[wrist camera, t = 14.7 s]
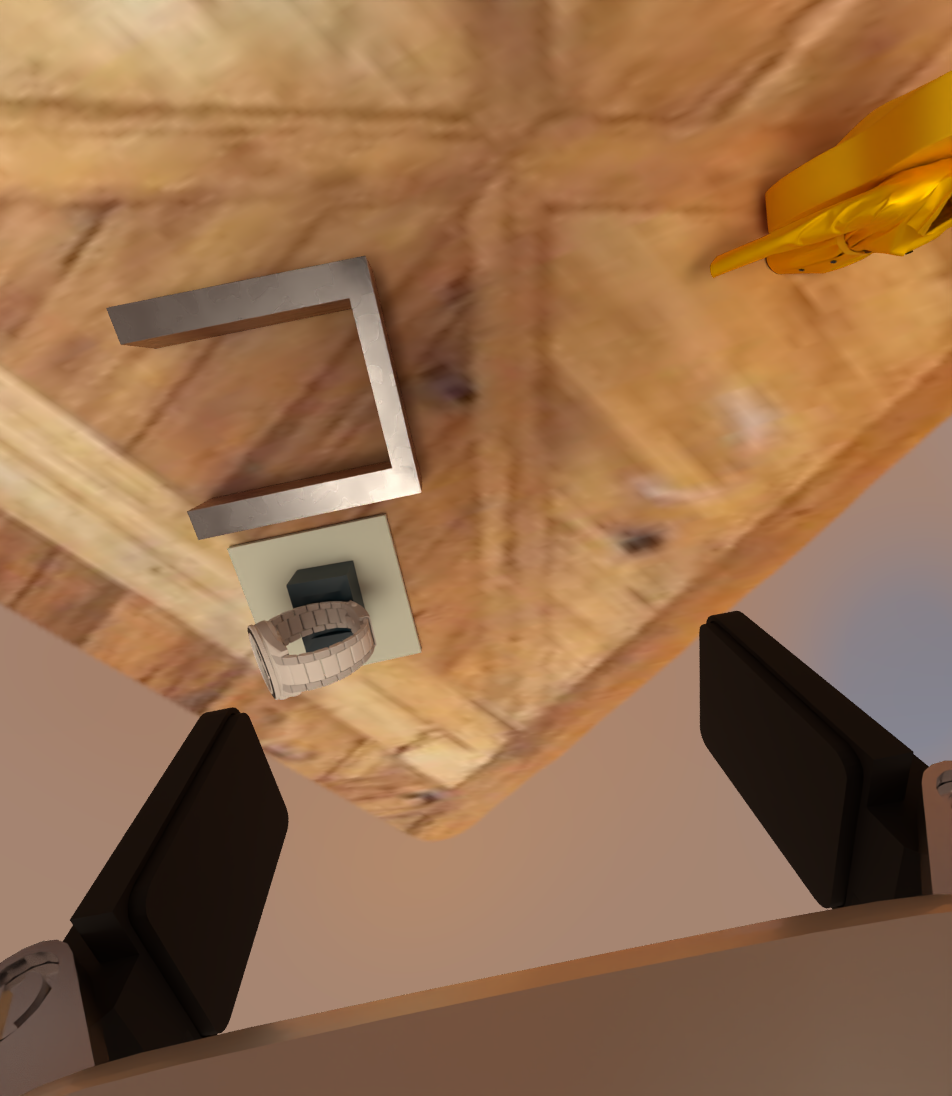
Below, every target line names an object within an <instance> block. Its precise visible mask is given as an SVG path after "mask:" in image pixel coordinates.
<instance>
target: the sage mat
mask: <svg viewBox="0 0 952 1096" xmlns="http://www.w3.org/2000/svg"><path fill="white" fill-rule="evenodd" d="M227 550H228V552H229V555H230V558H231V560H232V563H233V566H234V568H235V571H236V574H237V576H238V579H239V581H240V584H241V587H242V589H243V592H244V595H245V597H246V600H247V602H248V605H249V608H250V610H251V613H252V616H253V618H254V621H255V623H258V622H260V621H263V620H265V621H269V619H271V618H273V617H275V616H277V615H280V614H281V613H283V612H286V611H289V610H293V607H292V603H291V600H290V597H289V593H288V590H287V587H286V585H287V584H288V582H289V581H290V579H291V578H292V576H293V575H294V574H295V572H296V571H297V570H299V569H305V568H311V567H317V566H323V565H328V564H334V563H340V562H346V561H352V560H353V562H354V566H355V570H356V574H357V578H358V582H359V586H360V590H361V594H362V598H363V602H364V606H365V610H366V611H367V612H368V614H369V616H370V619H371V623H372V627H373V631H374V636H375V640H376V644H377V645H376V646H375V648H374V652H373V654H372V656H371V657H370V658H369V659H368V661H367V662H366V663H365V664H363V665H367V664H371V663H376V662H381V661H385V660H390V659H394V658H399V657H403V656H408V655H412V654H417V653H421V645H420V641H419V638H418V634H417V630H416V626H415V623H414V619H413V615H412V611H411V607H410V604H409V600H408V596H407V592H406V588H405V585H404V581H403V577H402V573H401V569H400V566H399V562H398V558H397V554H396V551H395V547H394V543H393V539H392V535H391V532H390V528H389V524H388V520H387V516H386V513H385V514H380V515H375V516H370V517H366V518H361V519H356V520H352V521H347V522H342V523H338V524H333V525H328V526H323V527H319V528H314V529H309V530H305V531H300V532H295V533H291V534H286V535H281V536H277V537H272V538H267V539H262V540H258V541H253V542H248V543H244V544H239V545H234V546H230V547H229V548H228V549H227ZM293 613H294V612H293ZM299 633H300V632H299ZM300 636H301V635H300ZM286 647H287V649H288V652H289V655H299V654H302V653H306V650H305V647H304V644H303V640H302V637H301V638H300V639H298V640H296V641H294V642H292V643H289V645H287V646H286ZM329 650H330V649H329ZM313 654H314V652H313ZM336 657H337V656H336ZM320 661H321V659H320ZM321 664H322V662H321ZM338 664H339V663H338ZM322 667H323V666H322ZM323 671H324V669H323ZM324 674H325V673H324Z"/></svg>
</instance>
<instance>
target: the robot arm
mask: <svg viewBox="0 0 952 1096" xmlns="http://www.w3.org/2000/svg"><path fill="white" fill-rule="evenodd" d="M699 640H700V731H701V736H702V738H703V741H704V743H705V745H706V747H707V748H708V749H709V751H710V752H711V754H712V755H713V757H714V758H715V759H716V761H717V762H718V764H719V765H720V766H721V768H722V769H723V771H724V772H725V774H726V775H727V776H728V778H729V779H730V781H731V782H732V783H733V785H734V786H735V788H736V789H737V790H738V792H739V793H740V794H741V796H742V797H743V799H744V800H745V802H746V803H747V804H748V806H749V807H750V809H751V810H752V811H753V813H754V814H755V816H756V817H757V818H758V820H759V821H760V822H761V824H762V825H763V827H764V828H765V830H766V831H767V832H768V834H769V835H770V837H771V838H772V839H773V841H774V842H775V844H776V845H777V846H778V848H779V849H780V851H781V852H782V853H783V855H784V856H785V858H786V859H787V860H788V862H789V863H790V865H791V866H792V867H793V869H794V870H795V871H796V873H797V874H798V876H799V877H800V879H801V880H802V882H803V883H804V884H805V886H806V887H807V888H808V890H809V891H810V893H811V894H812V896H813V897H814V898H815V899H816V900H817V902H818V903H819V904H820V905H821V906H822V907H824V908H832V910H826V911H821V912H815V913H809V914H804V915H799V916H792V917H787V918H781V919H776V920H770V921H766V922H760V923H755V924H751V925H745V926H741V927H735V928H730V929H725V930H720V931H716V932H710V933H705V934H700V935H695V936H690V937H685V938H680V939H675V940H670V941H665V942H660V943H655V944H650V945H645V946H640V947H635V948H630V949H625V950H620V951H615V952H610V953H605V954H600V955H595V956H590V957H585V958H580V959H576V960H571V961H566V962H561V963H556V964H551V965H547V966H541V967H537V968H532V969H527V970H522V971H517V972H512V973H507V974H502V975H497V976H493V977H488V978H483V979H478V980H473V981H469V982H464V983H459V984H454V985H449V986H444V987H440V988H434V989H430V990H425V991H420V992H415V993H411V994H406V995H401V996H396V997H392V998H387V999H382V1000H377V1001H373V1002H368V1003H364V1004H358V1005H354V1006H349V1007H344V1008H340V1009H335V1010H330V1011H326V1012H321V1013H316V1014H311V1015H307V1016H302V1017H298V1018H293V1019H288V1020H283V1021H278V1022H274V1023H269V1024H264V1025H260V1026H255V1027H250V1028H246V1029H242V1030H237V1031H233V1032H228V1033H224V1034H220V1035H217V1034H218V1033H222V1032H223V1031H224V1030H225V1028H226V1027H227V1025H228V1023H229V1020H230V1018H231V1014H232V1011H233V1007H234V1004H235V1001H236V998H237V994H238V991H239V988H240V985H241V981H242V978H243V975H244V971H245V968H246V965H247V961H248V958H249V955H250V952H251V948H252V945H253V941H254V938H255V935H256V931H257V928H258V925H259V922H260V918H261V915H262V912H263V909H264V905H265V902H266V899H267V895H268V892H269V889H270V885H271V882H272V879H273V875H274V872H275V869H276V865H277V862H278V859H279V856H280V852H281V849H282V846H283V843H284V839H285V835H286V832H287V829H288V812H287V808H286V806H285V804H284V801H283V798H282V796H281V794H280V791H279V789H278V786H277V784H276V781H275V779H274V776H273V774H272V772H271V769H270V767H269V764H268V762H267V759H266V757H265V754H264V752H263V749H262V747H261V744H260V742H259V740H258V737H257V735H256V732H255V730H254V727H253V725H252V722H251V720H250V718H249V716H248V715H247V714H246V713H240V712H239V710H238V709H236V708H233V707H232V708H227V709H222V710H217V711H212V712H206V713H204V714H203V715H202V716H201V717H200V718H199V720H198V721H197V723H196V724H195V726H194V727H193V729H192V731H191V732H190V734H189V735H188V737H187V738H186V740H185V742H184V743H183V745H182V746H181V748H180V749H179V751H178V752H177V754H176V756H175V757H174V759H173V760H172V762H171V763H170V765H169V766H168V768H167V769H166V771H165V773H164V774H163V776H162V777H161V779H160V780H159V782H158V784H157V785H156V787H155V788H154V790H153V791H152V793H151V794H150V796H149V797H148V799H147V801H146V802H145V804H144V805H143V807H142V808H141V810H140V812H139V813H138V815H137V816H136V818H135V819H134V821H133V823H132V824H131V826H130V827H129V829H128V830H127V832H126V833H125V835H124V836H123V838H122V840H121V841H120V843H119V844H118V846H117V847H116V849H115V850H114V852H113V854H112V855H111V857H110V858H109V860H108V861H107V863H106V865H105V866H104V868H103V869H102V871H101V872H100V874H99V876H98V877H97V879H96V880H95V882H94V883H93V885H92V886H91V888H90V890H89V891H88V893H87V894H86V896H85V897H84V899H83V900H82V902H81V904H80V905H79V907H78V908H77V910H76V911H75V913H74V915H73V916H72V918H71V919H70V921H71V922H72V924H73V926H72V928H71V929H70V931H69V933H68V934H67V936H66V937H65V939H64V940H63V942H62V941H59V940H50V941H42V942H39V943H37V944H34V945H31V946H29V947H26V948H24V949H22V950H21V951H19V952H17V953H15V954H14V955H12V956H10V957H9V958H7V959H5V960H4V961H3V962H1V963H0V1096H952V761H943V762H939V763H936V764H932V765H931V766H930V767H929V766H927V765H926V764H925V763H924V762H922V761H921V760H920V759H919V758H918V757H916V756H915V755H914V754H913V751H911V749H909V748H908V747H907V746H906V745H904V744H903V743H902V742H901V741H899V740H898V739H897V738H896V737H895V736H893V735H892V734H891V733H890V732H888V731H887V730H886V729H884V728H883V727H882V726H881V725H880V724H878V723H877V722H876V721H875V720H874V719H872V718H871V717H870V716H869V715H867V714H866V713H865V712H864V711H862V710H861V709H860V708H859V707H857V706H856V705H855V704H854V703H853V702H851V701H850V700H849V699H848V698H846V697H845V696H844V695H843V694H842V693H840V692H839V691H838V690H837V689H835V688H834V687H833V686H832V685H830V684H829V683H828V682H826V680H824V679H823V678H822V677H821V676H819V675H818V674H817V673H816V672H815V671H813V670H812V669H811V668H809V667H808V666H807V665H806V664H805V663H803V662H802V661H801V660H800V659H798V658H797V657H796V656H795V655H793V654H792V653H791V652H790V651H789V650H787V649H786V648H785V647H784V646H782V645H781V644H780V643H779V642H778V641H776V640H775V639H774V638H773V637H771V636H770V635H769V634H768V633H766V632H765V631H764V630H763V629H762V628H760V627H759V626H758V625H757V624H755V623H754V622H753V621H752V620H750V619H749V618H748V617H747V616H745V615H744V614H743V613H741V612H740V611H733V612H728V613H722V614H717V615H712V616H710V617H708V619H707V622H706V624H703V625H701V627H700V632H699Z"/></svg>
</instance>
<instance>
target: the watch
mask: <svg viewBox="0 0 952 1096" xmlns="http://www.w3.org/2000/svg"><path fill="white" fill-rule="evenodd" d="M286 587H287V590H288V593H289V597H290V600H291V603H292V607H293V610H289V611H286V612H283V613H281V614H280V615H277V616H275V617H273V618H271V619H269V621H265V620H263V621H260V622H258V623H256V624H255V625H254V626H253V625H249V626H248V634H249V639H250V643H251V647H252V650H253V653H254V656H255V659H256V661H257V664H258V667H259V669H260V672H261V674H262V676H263V679H264V681H265V683H266V685H267V687H268V689H269V691H270V692H271V694H272V696H273V697H274V698H275V699H276V700H278V699H281V700H283V699H287V698H288V697H293V696H297V695H299V694H301V692H303V691H307V689H308V691H309V690H314V689H317V688H321V687H322V686H327V685H330V684H332V683H335V682H337V681H338V680H341V679H343V678H345V677H347V676H349V675H350V674H352V672H355V671H356V670H357V669H359V668H360V667H361V666H362V665H363V664H365V663H366V662H367V661H368V659H369V658H370V657H371V656H372V654H373V652H374V648H375V646H376V645H377V644H376V640H375V636H374V631H373V627H372V623H371V619H370V616H369V614H368V612H367V611H366V610H365V606H364V602H363V598H362V594H361V590H360V586H359V582H358V578H357V574H356V570H355V566H354V562H353V560H352V561H346V562H340V563H334V564H328V565H323V566H317V567H311V568H305V569H299V570H297V571H296V572H295V574H294V575H293V576H292V578H291V579H290V581H289V582H288V584H287V585H286ZM293 612H294V613H293ZM299 632H300V633H299ZM300 635H301V636H300ZM301 637H302V640H303V644H304V647H305V650H306V653H302V654H299V655H289V652H288V649H287V647H286V646H287V645H289V643H292V642H294V641H296V640H298V639H300V638H301ZM329 649H330V650H329ZM313 652H314V654H313ZM336 656H337V657H336ZM320 659H321V661H320ZM321 662H322V664H321ZM338 663H339V664H338ZM322 666H323V667H322ZM323 669H324V671H323ZM324 673H325V674H324ZM336 674H337V675H336ZM337 678H338V679H337ZM321 680H322V681H321ZM322 684H323V685H322Z"/></svg>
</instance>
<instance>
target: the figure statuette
mask: <svg viewBox="0 0 952 1096" xmlns="http://www.w3.org/2000/svg"><path fill="white" fill-rule="evenodd" d="M765 199H766V211H767V223H768V232H769V234H768V235H766V236H764V237H762V238H759V239H757V240H754V241H752V242H750V243H747V244H745V245H742V246H740V247H738V248H735V249H733V250H731V251H728V252H726V253H724V254H722V255H719V256H717V257H716V258H715V259H714V260H713V262H712V263H711V265H710V272H711V275H712V277H713V278H715V277H716V276H719V275H721V274H724V273H726V272H729V271H731V270H734V269H737V268H739V267H742V266H745V265H747V264H750V263H753V262H755V261H758V260H761V259H763V258H766V257H767V263H768V265H769V267H770V268H771V269H772V270H773V271H774V272H775V273H777V274H797V273H826V272H830V271H833V270H837V269H840V268H843V267H846V266H848V265H851V264H853V263H855V262H857V261H859V260H862V259H864V258H865V257H867V256H869V255H870V254H872V253H885V254H890V255H896V256H904V254H909V253H911V252H913V250H914V249H916V248H918V247H920V246H922V245H924V244H927V243H928V242H930V241H932V240H934V239H936V238H937V237H939V236H940V235H941V234H942V233H943V232H944V231H945V230H946V229H947V228H950V227H952V71H950V72H948V73H946V74H944V75H942V76H940V77H938V78H937V79H935V80H933V81H931V82H929V83H927V84H925V85H923V86H921V87H919V88H917V89H915V90H913V91H911V92H909V93H907V94H905V95H902V96H900V97H898V98H896V99H893V100H891V101H889V102H887V103H885V104H884V105H882V106H880V107H878V108H877V109H875V110H874V111H872V112H871V113H870V114H868V115H867V116H866V117H865V118H864V119H863V120H861V121H860V122H859V123H858V124H857V125H856V126H855V127H854V128H853V129H852V130H851V131H850V132H849V133H848V134H847V135H846V136H845V137H844V138H843V139H842V140H841V141H840V142H839V143H838V144H837V145H836V146H835V147H833V148H831V149H829V150H828V151H826V152H824V153H822V154H820V155H819V156H817V157H815V158H813V159H812V160H810V161H808V162H806V163H805V164H803V165H802V166H800V167H798V168H797V169H795V170H794V171H792V172H791V173H789V174H787V175H786V176H785V177H783V178H782V179H780V180H779V181H778V182H777V183H775V184H774V185H773V186H772V187H771V188H770V189H769V190H768V191H767V192H766V194H765Z"/></svg>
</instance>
